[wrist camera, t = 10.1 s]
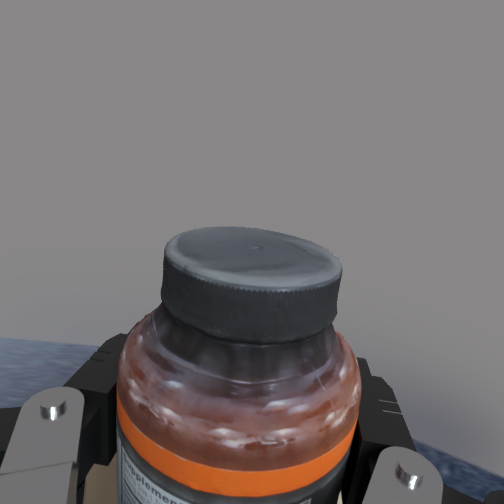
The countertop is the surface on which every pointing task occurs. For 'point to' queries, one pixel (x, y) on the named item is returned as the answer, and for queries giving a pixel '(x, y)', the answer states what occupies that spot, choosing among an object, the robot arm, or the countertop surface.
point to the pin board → (109, 484)
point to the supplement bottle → (238, 376)
